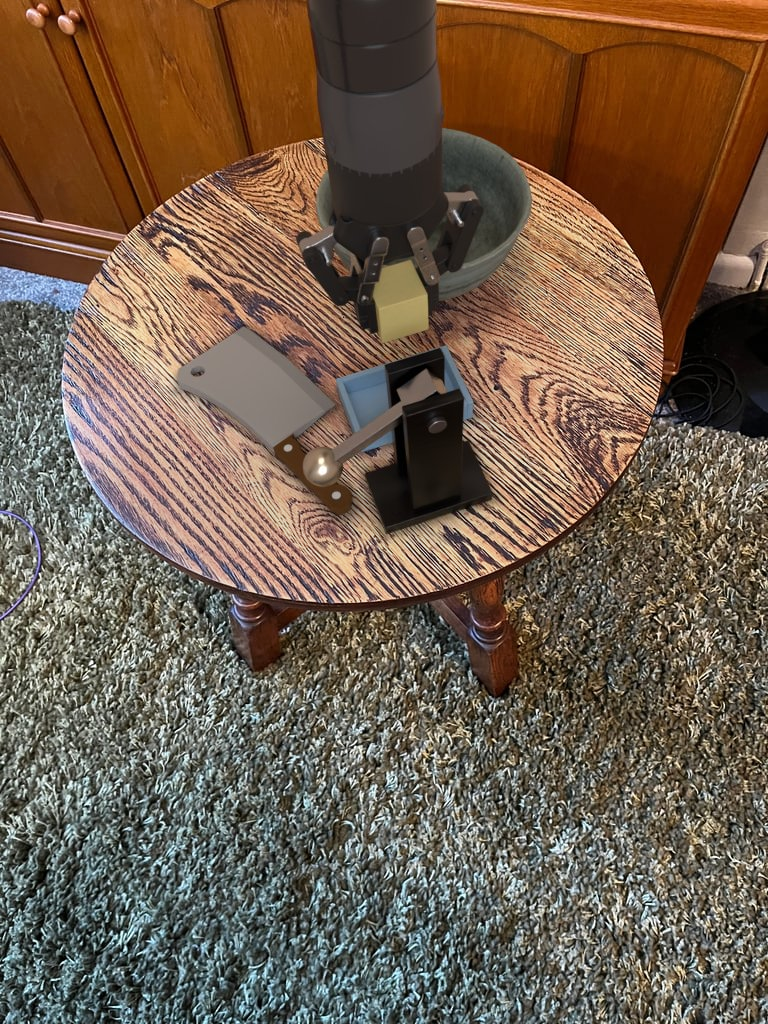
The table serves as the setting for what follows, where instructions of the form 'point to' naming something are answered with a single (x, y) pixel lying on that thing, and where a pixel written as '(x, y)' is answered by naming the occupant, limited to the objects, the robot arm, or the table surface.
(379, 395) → the butter dish
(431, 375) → the cutter lever
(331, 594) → the table surface
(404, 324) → the butter pat
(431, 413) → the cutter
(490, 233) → the bowl
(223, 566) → the table surface
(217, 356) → the kitchen cleaver
